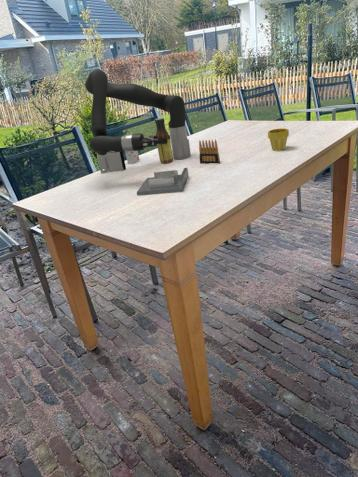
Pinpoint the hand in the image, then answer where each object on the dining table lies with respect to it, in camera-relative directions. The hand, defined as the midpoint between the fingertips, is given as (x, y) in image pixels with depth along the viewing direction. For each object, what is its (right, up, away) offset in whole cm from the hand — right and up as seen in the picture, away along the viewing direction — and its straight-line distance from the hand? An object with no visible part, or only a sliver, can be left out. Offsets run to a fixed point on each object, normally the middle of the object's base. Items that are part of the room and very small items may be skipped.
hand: (168, 139), depth 165 cm
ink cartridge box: (-22, 0, +51) cm, 55 cm away
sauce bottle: (-1, -10, +5) cm, 11 cm away
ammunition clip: (+21, -6, +23) cm, 32 cm away
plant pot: (+57, +2, +29) cm, 64 cm away
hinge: (-31, -8, +37) cm, 49 cm away
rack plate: (-2, -21, -1) cm, 21 cm away
